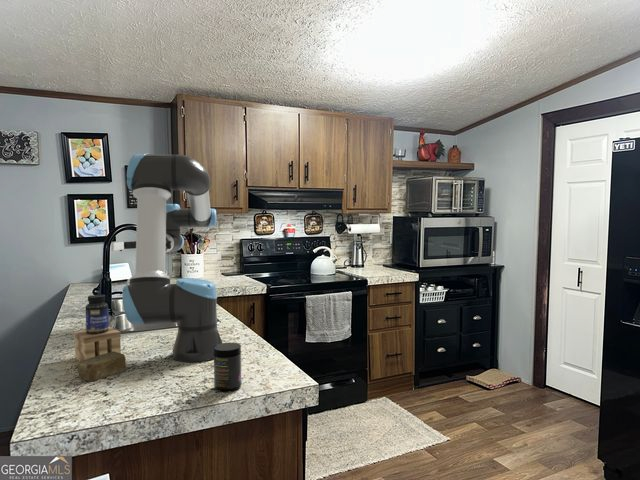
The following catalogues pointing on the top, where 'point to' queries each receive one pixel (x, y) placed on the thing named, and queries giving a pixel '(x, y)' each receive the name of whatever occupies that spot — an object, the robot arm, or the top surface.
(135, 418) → the top surface
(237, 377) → the supplement container
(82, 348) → the block
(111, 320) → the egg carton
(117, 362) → the stone block
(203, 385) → the top surface
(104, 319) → the pill bottle
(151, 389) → the top surface
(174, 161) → the robot arm
